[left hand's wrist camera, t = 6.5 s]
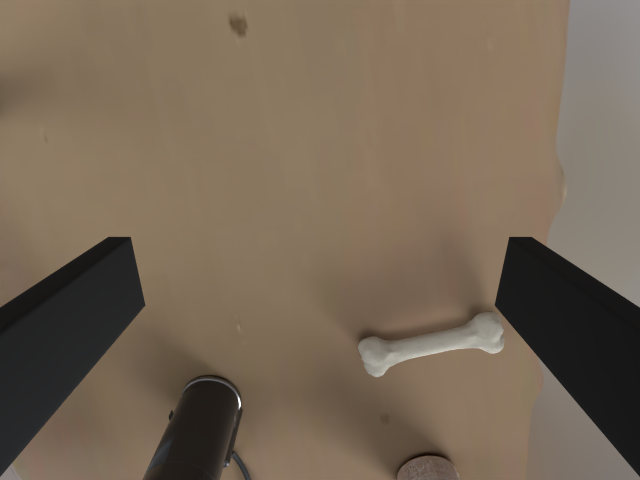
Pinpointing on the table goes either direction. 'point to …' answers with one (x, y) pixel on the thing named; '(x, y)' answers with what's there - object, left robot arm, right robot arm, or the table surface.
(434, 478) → the planter
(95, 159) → the table surface
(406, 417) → the table surface
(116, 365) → the table surface
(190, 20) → the table surface
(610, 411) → the left robot arm
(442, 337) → the dog toy
